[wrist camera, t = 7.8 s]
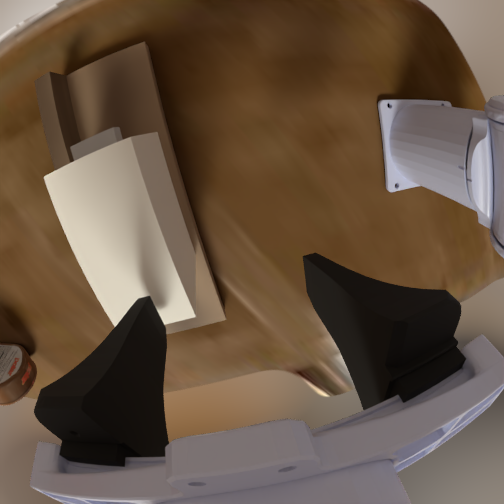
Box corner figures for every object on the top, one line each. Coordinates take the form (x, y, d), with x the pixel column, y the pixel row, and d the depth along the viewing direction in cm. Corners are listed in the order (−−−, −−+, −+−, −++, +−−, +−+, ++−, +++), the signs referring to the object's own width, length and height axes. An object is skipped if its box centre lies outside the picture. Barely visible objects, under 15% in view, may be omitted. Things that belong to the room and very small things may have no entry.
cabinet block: (154, 120, 15) (125, 118, 9) (195, 254, 20) (196, 316, 14) (92, 144, 15) (38, 160, 9) (139, 270, 19) (119, 334, 13)
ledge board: (148, 47, 14) (136, 30, 10) (224, 308, 24) (229, 340, 21) (61, 85, 13) (34, 80, 10) (152, 326, 24) (147, 358, 20)
